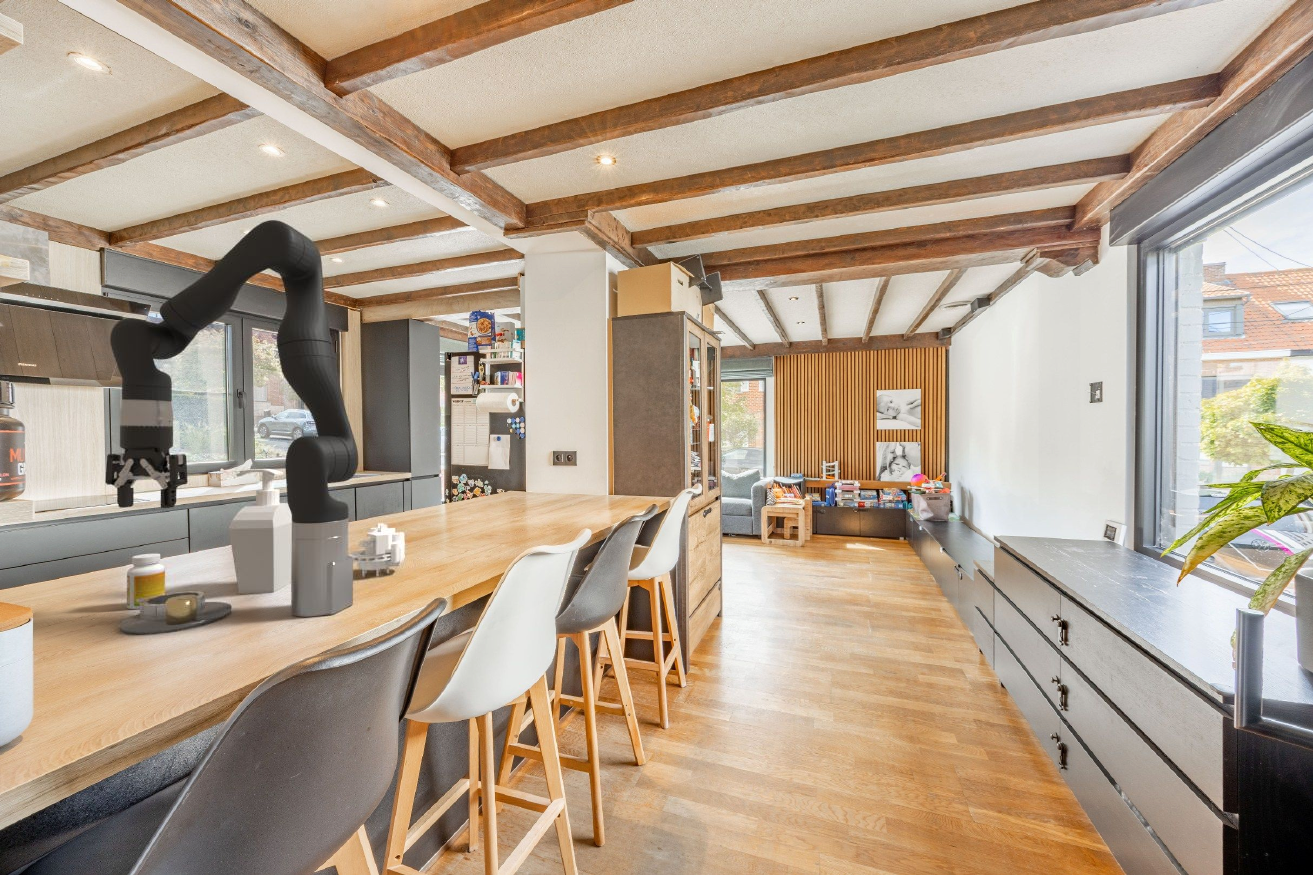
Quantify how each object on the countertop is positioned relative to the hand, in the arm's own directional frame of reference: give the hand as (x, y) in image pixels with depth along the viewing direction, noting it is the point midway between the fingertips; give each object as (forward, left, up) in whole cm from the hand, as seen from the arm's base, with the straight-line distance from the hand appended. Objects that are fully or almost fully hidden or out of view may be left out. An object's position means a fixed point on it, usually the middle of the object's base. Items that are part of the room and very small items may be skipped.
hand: (146, 507), depth 104 cm
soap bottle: (-13, -13, -19) cm, 27 cm away
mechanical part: (-31, -26, -19) cm, 45 cm away
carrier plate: (-14, +7, -19) cm, 24 cm away
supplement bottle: (0, 0, -19) cm, 19 cm away
